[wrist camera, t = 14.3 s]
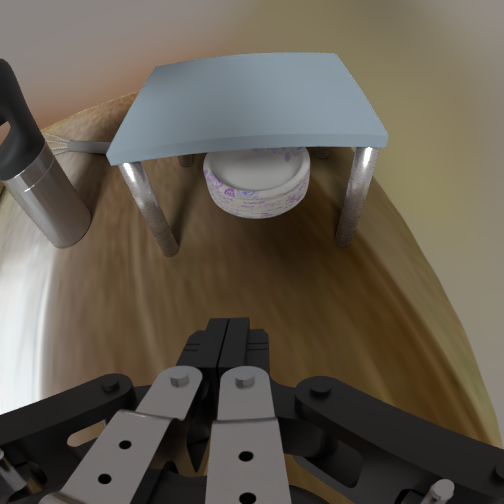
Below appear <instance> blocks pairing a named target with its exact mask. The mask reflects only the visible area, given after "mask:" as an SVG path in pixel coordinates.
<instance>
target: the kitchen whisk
mask: <svg viewBox="0 0 504 504" xmlns="http://www.w3.org/2000/svg"><path fill="white" fill-rule="evenodd" d="M44 135H50V136H52V134H44ZM55 136H56V135H54V137H55ZM58 137H59V136H58ZM58 137H57V138H58ZM59 139H61V137H60V138H59ZM63 139H64V138H62V140H63ZM65 140H66V139H64V141H65ZM46 142H47V141H46ZM49 142H55V143H59V142H58V141H49ZM66 142H67V140H66ZM111 143H112V142H96V141H68V143H66V145H67V148H66V147H61V148H66V150H67V151H70V152H85V153H99V154H106V153H107V151H108V149H109V147H110V145H111ZM61 144H64V142H61ZM50 149H56V148H50ZM59 150H63V149H59ZM63 151H64V152H65V150H63ZM60 152H62V151H60ZM57 153H59V152H57ZM62 153H63V152H62ZM54 154H55V153H54ZM59 154H60V153H59ZM56 155H57V154H56Z"/></svg>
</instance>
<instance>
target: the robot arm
mask: <svg viewBox="0 0 504 504" xmlns="http://www.w3.org/2000/svg"><path fill="white" fill-rule="evenodd" d="M6 121H8V122H9V124H10V126H11V128H10V131H9V133H8V135H7V137H6V138H5V140H4V141H3V143H2V145H1V146H0V180H1V182H2V183H3V184H4V186H5V187H6V188H7V190H8V191H9V192H10V193H11V195H12V196H13V197H14V199H15V200H16V201H17V202H18V204H19V205H20V206H21V207H22V209H23V210H24V211H25V212H26V214H27V215H28V216H29V217H30V218H31V220H32V221H33V222H34V223H35V224H36V226H37V227H38V228H39V229H40V230H41V231H42V233H43V234H44V235H45V236H46V237H47V238H48V239H49V241H50V242H51V243H52V244H53V245H54V246H55V247H58V248H66V247H69V246H71V245H73V244H74V243H76V242H77V241H78V240H80V239H81V238H82V236H83V235H84V234H85V233H86V231H87V229H88V227H89V225H90V222H91V214H90V211H89V210H88V208H87V207H86V205H85V204H84V202H83V201H82V199H81V198H80V196H79V195H78V193H77V192H76V190H75V189H74V187H73V185H72V184H71V182H70V181H69V179H68V177H67V176H66V174H65V173H64V171H63V169H62V168H61V166H60V164H59V163H58V161H57V159H56V158H55V156H54V154H53V153H52V151H51V149H50V148H49V146H48V144H47V142H46V141H45V139H44V137H43V135H42V134H41V132H40V130H39V128H38V126H37V124H36V122H35V120H34V118H33V116H32V114H31V112H30V110H29V108H28V106H27V104H26V102H25V99H24V97H23V94H22V92H21V89H20V87H19V84H18V82H17V79H16V77H15V75H14V72H13V70H12V68H11V66H10V65H9V64H8V62H6V61H5V60H4V59H0V126H1V125H2V124H4V123H5V122H6ZM100 421H103V423H104V425H105V429H104V430H103V432H102V433H101V435H100V436H99V437H97V438H95V439H93V440H91V441H88V442H86V443H84V444H82V445H80V446H77V447H72V446H69V445H68V444H67V440H68V438H69V436H70V435H71V434H73V433H75V432H78V431H80V430H82V429H85V428H87V427H89V426H91V425H93V424H96V423H98V422H100ZM283 453H285V454H291V455H293V457H294V460H295V461H296V462H297V463H298V464H299V465H301V466H302V467H303V468H305V469H306V470H307V471H309V472H310V473H311V474H313V475H314V476H316V477H317V478H318V479H320V480H321V481H323V482H324V483H326V484H327V485H328V486H330V487H331V488H333V489H334V490H336V491H337V492H339V493H340V494H342V495H343V496H345V497H347V498H348V499H350V500H351V501H353V502H354V503H356V504H504V450H503V449H500V448H497V447H494V446H492V445H489V444H486V443H483V442H480V441H477V440H475V439H472V438H469V437H466V436H464V435H461V434H459V433H456V432H453V431H451V430H448V429H446V428H443V427H441V426H438V425H436V424H433V423H431V422H429V421H426V420H424V419H421V418H419V417H417V416H414V415H412V414H410V413H407V412H405V411H403V410H401V409H398V408H396V407H394V406H392V405H389V404H387V403H385V402H383V401H381V400H379V399H376V398H374V397H372V396H370V395H368V394H366V393H364V392H362V391H359V390H357V389H355V388H353V387H351V386H349V385H347V384H345V383H343V382H341V381H339V380H337V379H335V378H332V377H327V376H315V377H310V378H307V379H305V380H303V381H301V382H300V383H299V384H298V385H297V386H296V388H293V387H287V386H283V385H280V384H278V383H276V382H275V381H274V380H272V378H271V377H270V365H269V340H268V334H267V333H266V332H265V331H264V330H263V329H251V330H250V321H249V317H247V318H230V319H229V318H211V319H210V320H209V323H208V325H207V328H206V330H203V331H196V332H195V333H194V334H192V335H191V336H190V337H189V338H188V341H187V343H186V345H185V347H184V349H183V351H182V353H181V355H180V357H179V360H178V362H177V364H176V366H175V367H171V368H168V369H166V370H164V371H163V372H161V373H160V374H159V376H158V377H157V379H156V380H155V382H154V383H153V385H147V386H138V387H133V384H132V381H131V379H130V378H129V377H128V376H126V375H123V374H107V375H104V376H101V377H99V378H96V379H94V380H91V381H89V382H86V383H84V384H81V385H79V386H76V387H74V388H71V389H69V390H66V391H64V392H61V393H59V394H56V395H54V396H51V397H48V398H46V399H43V400H40V401H38V402H35V403H32V404H30V405H27V406H24V407H21V408H19V409H16V410H13V411H10V412H7V413H4V414H2V415H0V504H329V503H328V502H327V501H325V500H324V499H322V498H321V497H319V496H317V495H316V494H314V493H312V492H309V491H307V490H305V489H302V488H299V487H296V486H293V485H288V479H287V473H286V467H285V461H284V455H283ZM208 458H209V464H208V475H207V476H203V474H204V471H205V468H206V464H207V461H208Z"/></svg>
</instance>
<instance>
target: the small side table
mask: <svg viewBox="0 0 504 504" xmlns="http://www.w3.org/2000/svg"><path fill="white" fill-rule="evenodd" d="M388 137H389V135H388V133H387V132H386V130H385V128H384V126H383V125H382V123H381V121H380V119H379V118H378V116H377V114H376V113H375V111H374V109H373V108H372V106H371V105H370V103H369V101H368V100H367V98H366V97H365V95H364V94H363V92H362V91H361V89H360V88H359V86H358V84H357V83H356V81H355V80H354V79H353V77H352V76H351V74H350V73H349V71H348V70H347V68H346V67H345V66H344V64H343V63H342V61H341V60H340V59H339V57H338V56H337V55H336V54H332V53H302V52H299V53H298V52H294V53H293V52H287V53H257V54H242V55H231V56H220V57H212V58H204V59H197V60H190V61H184V62H178V63H173V64H167V65H162V66H157V67H155V69H154V70H153V72H152V73H151V75H150V76H149V78H148V79H147V81H146V83H145V84H144V86H143V87H142V89H141V91H140V92H139V94H138V96H137V97H136V99H135V101H134V103H133V104H132V106H131V108H130V110H129V111H128V113H127V115H126V117H125V118H124V120H123V122H122V124H121V126H120V128H119V130H118V132H117V133H116V135H115V137H114V139H113V141H112V143H111V145H110V147H109V149H108V151H107V153H106V156H107V158H108V160H109V162H110V164H111V166H112V165H118V167H119V169H120V171H121V173H122V175H123V177H124V179H125V181H126V183H127V185H128V187H129V189H130V191H131V193H132V195H133V197H134V199H135V201H136V203H137V205H138V207H139V209H140V211H141V213H142V214H143V216H144V218H145V220H146V222H147V224H148V226H149V228H150V230H151V231H152V233H153V235H154V237H155V239H156V241H157V242H158V244H159V246H160V248H161V250H162V251H163V253H164V255H165V256H167V257H172V256H174V255H176V254H177V253H178V251H179V247H178V244H177V242H176V240H175V238H174V236H173V234H172V232H171V229H170V227H169V225H168V223H167V221H166V218H165V216H164V214H163V212H162V210H161V207H160V205H159V203H158V201H157V198H156V196H155V194H154V191H153V189H152V187H151V184H150V182H149V180H148V177H147V175H146V173H145V170H144V168H143V166H142V163H141V161H142V160H148V159H155V158H163V157H170V156H178V159H179V162H180V165H181V166H182V167H188V166H190V165H191V164H192V163H193V160H192V156H191V154H196V153H205V152H216V151H227V150H241V149H256V148H276V147H314V146H316V149H315V156H316V157H317V158H319V159H326V158H327V157H328V153H329V146H341V147H356V150H355V155H354V159H353V164H352V169H351V173H350V178H349V182H348V187H347V191H346V195H345V200H344V204H343V208H342V212H341V216H340V220H339V224H338V228H337V232H336V236H335V244H336V245H337V246H338V247H340V248H347V247H349V246H350V244H351V241H352V238H353V235H354V232H355V229H356V226H357V223H358V220H359V217H360V214H361V211H362V208H363V204H364V201H365V198H366V195H367V191H368V188H369V185H370V181H371V178H372V174H373V170H374V167H375V164H376V160H377V156H378V152H379V149H380V148H386V144H387V141H388Z"/></svg>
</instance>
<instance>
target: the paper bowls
mask: <svg viewBox="0 0 504 504" xmlns="http://www.w3.org/2000/svg"><path fill="white" fill-rule="evenodd" d="M203 170H204V175H205V178H206V182H207V186H208V190H209V192H210V195H211V197H212V199H213V200H214V202H215V203H216V204H217V205H218V206H219V207H220V208H221V209H223V210H224V211H226V212H228V213H230V214H233V215H236V216H241V217H245V218H254V219H256V218H269V217H273V216H277V215H280V214H282V213H284V212H286V211H288V210H290V209H292V208H293V207H295V206H296V205H297V204H298V203H299V202H300V201H301V200H302V199H303V198H304V196H305V194H306V191H307V189H308V183H309V175H310V157H309V153H308V151H307V149H306V147H276V148H256V149H241V150H227V151H216V152H207V154H206V156H205V159H204V163H203Z"/></svg>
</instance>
